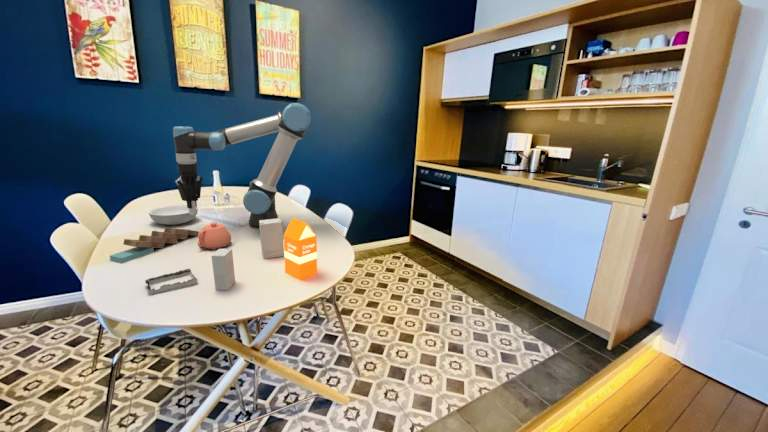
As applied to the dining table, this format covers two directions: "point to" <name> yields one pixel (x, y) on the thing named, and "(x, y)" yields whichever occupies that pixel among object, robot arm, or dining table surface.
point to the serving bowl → (171, 215)
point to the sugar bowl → (214, 236)
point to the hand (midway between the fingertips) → (193, 214)
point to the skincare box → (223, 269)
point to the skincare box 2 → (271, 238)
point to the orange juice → (300, 250)
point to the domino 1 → (131, 254)
